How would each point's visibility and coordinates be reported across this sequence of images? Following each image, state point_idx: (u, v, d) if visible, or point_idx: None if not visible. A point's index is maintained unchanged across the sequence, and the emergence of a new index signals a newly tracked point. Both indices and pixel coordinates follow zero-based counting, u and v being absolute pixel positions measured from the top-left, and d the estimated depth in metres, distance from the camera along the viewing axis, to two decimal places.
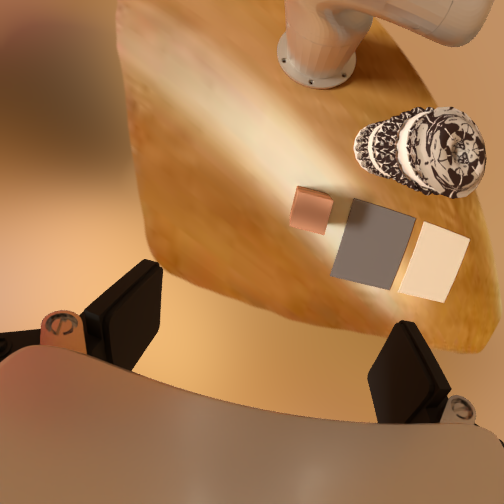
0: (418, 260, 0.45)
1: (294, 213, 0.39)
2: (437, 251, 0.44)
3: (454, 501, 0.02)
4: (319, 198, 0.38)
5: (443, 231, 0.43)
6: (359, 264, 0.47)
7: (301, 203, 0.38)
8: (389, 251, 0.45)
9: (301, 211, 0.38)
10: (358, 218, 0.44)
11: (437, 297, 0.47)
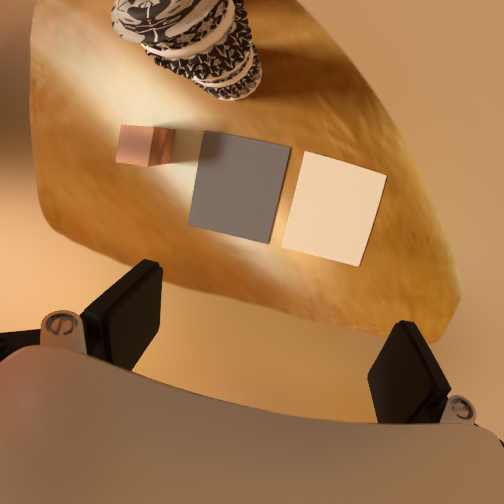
0: (304, 203, 0.38)
1: (118, 147, 0.32)
2: (334, 192, 0.37)
3: (454, 501, 0.02)
4: (140, 127, 0.31)
5: (338, 163, 0.36)
6: (220, 209, 0.40)
7: (123, 135, 0.31)
8: (258, 191, 0.39)
9: (124, 144, 0.32)
10: (211, 152, 0.37)
11: (346, 258, 0.40)
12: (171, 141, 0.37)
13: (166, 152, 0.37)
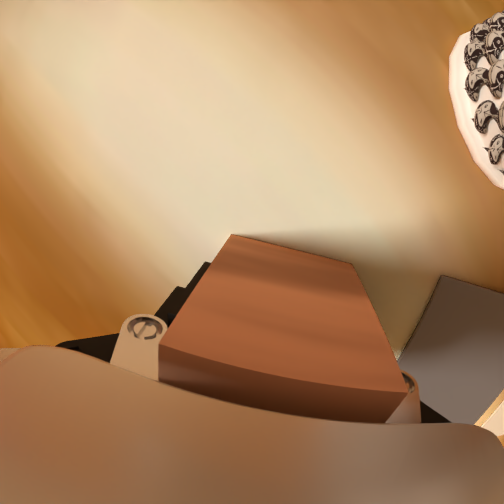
0: None
1: None
2: None
3: (454, 501, 0.02)
4: (316, 389, 0.05)
5: None
6: None
7: None
8: (482, 391, 0.13)
9: None
10: (440, 334, 0.11)
11: None
12: None
13: None
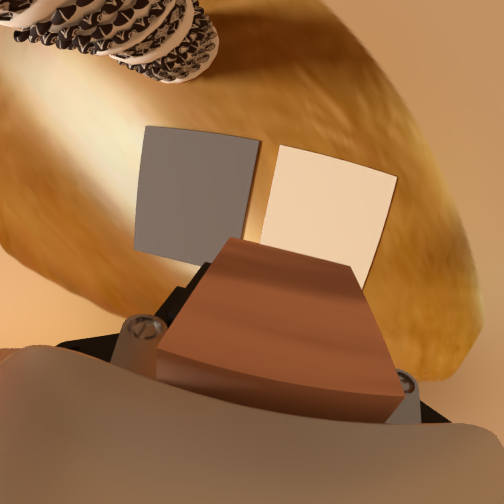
0: (281, 219, 0.28)
1: None
2: (323, 202, 0.27)
3: (454, 501, 0.02)
4: (313, 393, 0.05)
5: (328, 161, 0.25)
6: (170, 229, 0.30)
7: None
8: (217, 204, 0.28)
9: None
10: (154, 154, 0.27)
11: None
12: None
13: None
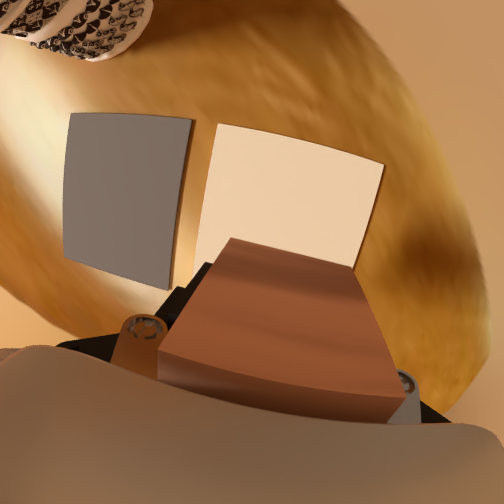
0: (221, 222, 0.21)
1: None
2: (278, 199, 0.20)
3: (454, 501, 0.02)
4: (315, 394, 0.05)
5: (284, 143, 0.18)
6: (96, 235, 0.23)
7: None
8: (143, 204, 0.21)
9: None
10: (78, 145, 0.20)
11: None
12: None
13: None
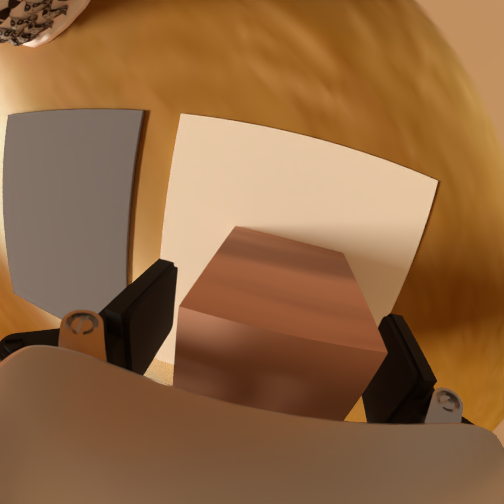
0: (189, 267, 0.14)
1: None
2: (277, 233, 0.13)
3: (454, 501, 0.02)
4: (308, 345, 0.06)
5: (286, 143, 0.11)
6: (40, 271, 0.15)
7: (201, 360, 0.07)
8: (85, 236, 0.14)
9: (209, 390, 0.07)
10: (14, 156, 0.13)
11: None
12: None
13: None
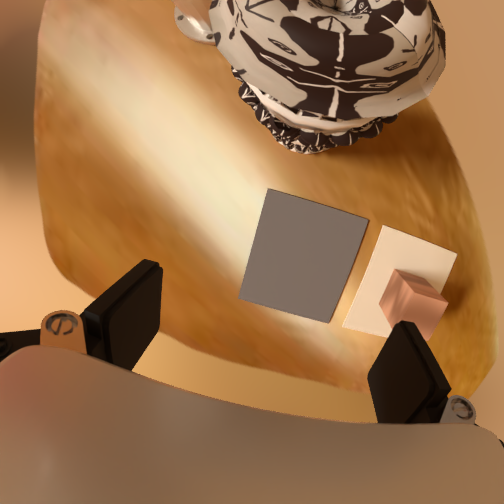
0: (374, 283, 0.33)
1: (403, 318, 0.26)
2: (405, 271, 0.32)
3: (454, 501, 0.02)
4: (435, 300, 0.25)
5: (415, 241, 0.30)
6: (279, 285, 0.34)
7: (414, 306, 0.25)
8: (326, 268, 0.33)
9: (412, 315, 0.26)
10: (274, 217, 0.32)
11: None
12: None
13: None
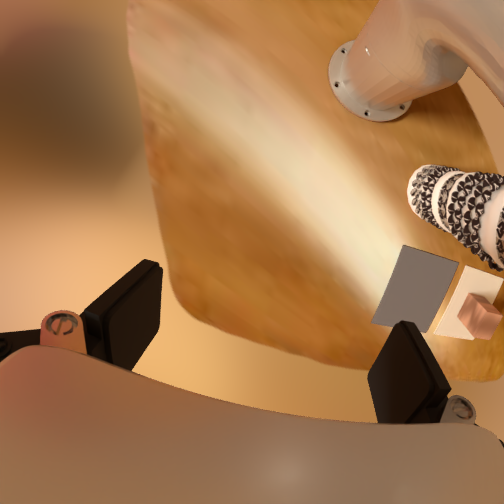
0: (456, 303, 0.40)
1: (479, 327, 0.34)
2: (474, 293, 0.39)
3: (454, 501, 0.02)
4: (496, 315, 0.33)
5: (481, 274, 0.38)
6: (401, 310, 0.42)
7: (485, 319, 0.33)
8: (431, 296, 0.40)
9: (484, 325, 0.33)
10: (405, 265, 0.39)
11: (468, 335, 0.42)
12: None
13: None
